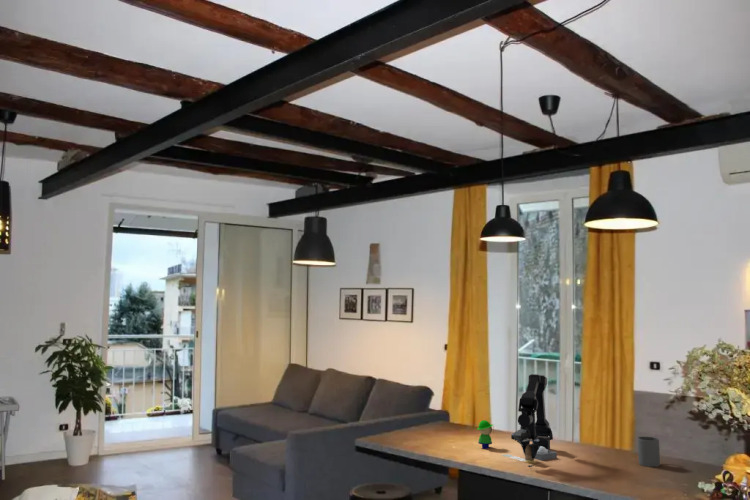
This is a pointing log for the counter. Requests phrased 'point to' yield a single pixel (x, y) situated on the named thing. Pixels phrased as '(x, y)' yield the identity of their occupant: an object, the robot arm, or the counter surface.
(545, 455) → the base
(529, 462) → the board
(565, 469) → the counter surface
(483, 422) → the toy
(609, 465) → the counter surface
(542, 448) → the dome
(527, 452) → the pawn
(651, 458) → the mug
